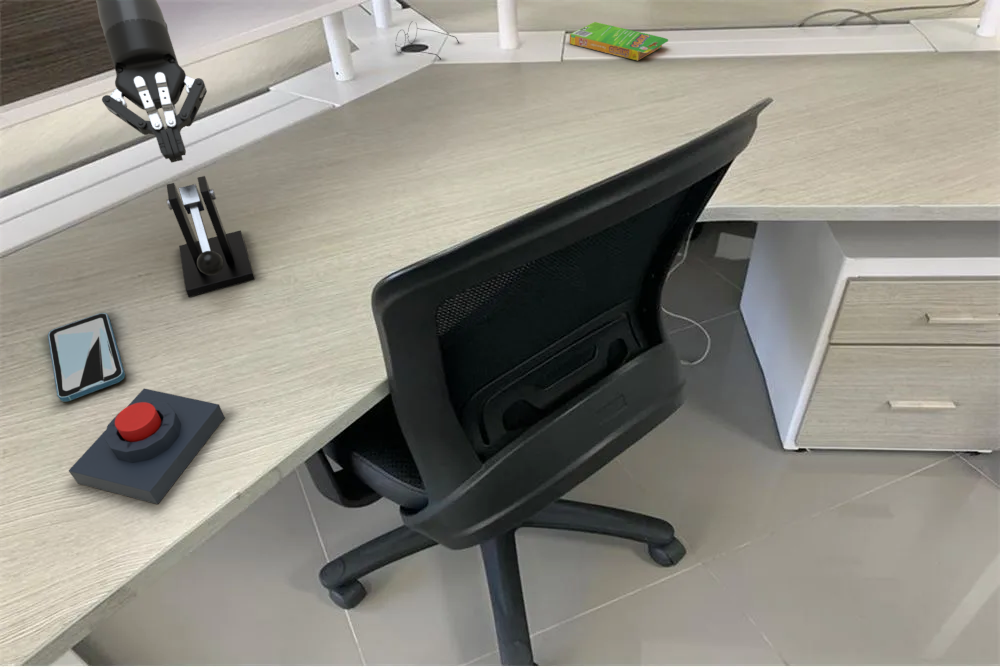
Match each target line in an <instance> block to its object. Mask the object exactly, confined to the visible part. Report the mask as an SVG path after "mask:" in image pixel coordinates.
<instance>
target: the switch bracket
mask: <svg viewBox="0 0 1000 667" xmlns="http://www.w3.org/2000/svg"><path fill="white" fill-rule="evenodd" d="M197 182H198V187H199V193H200V196H201V199H202V202H203V204H204V207H205V209H206V211H207V214H208V217H209V219H210V222H211V225H212V227H213V230H214V233H215V235H216V236H212V237H208V240H209V244H210V247H211V251H214V252H217V253H218V254H219V255H220V256H221V257H222V259H223V268H222V270H221V271H220V272H219V273H218V274H215V275H206V274H204V273H202V272H201V271H200V270H199V269H198V266H197V259H198V257H199V255H200V254H201V253H202V250H201V247H200V243H199V240H198V238H197V235H196V234H195V232H194V229H193V227H192V225H191V224H192V223H191V221H190V219H189V217H188V213H187V211H186V209H185V207H184V205H183V202H182V199H181V195H180V193H179V192H178V191H179V190H178V188H177V186H176V184H175V182H171V183H167V184H166V191H167V199H166V203H167V206H168V209H169V210H170V211H173V214H174V217H175V219H176V221H177V225H178V227H179V229H180V231H181V233H182V236H183V238H184V241H185V243H183V244H180V245H178V248H179V255H180V256H179V257H180V261H181V268H182V274H183V275H182V276H183V282H184V289H185V293H186V295H187V297H188V298H192V297H195V296H199V295H202V294H203V295H204V294H207V293H209V292H214V291H218V290H222V289H225V288H228V287H229V288H230V287H232V286H237V285H240V284H244V283H247V282H251V281H254V280H255V279H256V278H255V274H254V272H253V269H252V264H251V261H250V257H249V256H250V255H249V253H248V249H247V246H246V243H245V239H244V236H243V232H242V230H236V231H232V232H229V233H226V229H225V228H224V225H223V222H222V219H221V217H220V214H219V210H218V208H217V205H216V203H215V200H216V199H217V196H216V193H215V191H214V189H213V188H210V186H209V183H208V181H207V178H206V176H205V175H202V176H198V177H197Z"/></svg>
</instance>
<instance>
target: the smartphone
mask: <svg viewBox="0 0 1000 667" xmlns="http://www.w3.org/2000/svg"><path fill="white" fill-rule="evenodd" d="M47 339H48V346H49V353H50V359H51V365H52V370H53V376H54V384H55V390H56V396H57V397H58V400H60V401H61V402H64V403H65V402H67V403H68V402H71V401H73V400H76V399H78V398H81V397H83V396H87V395H89V394H92V393H94V392H97V391H99V390H102V389H105V388H108V387H111V386H113V385H115V384H118V383H120V382H122V381H123V380H124V379H125V378H126V372H125V369H124V365H123V361H122V358H121V354H120V351H119V348H118V343H117V340H116V336H115V332H114V329H113V326H112V322H111V319H110V316H109V315H108V313H106V312H99V313H95V314H93V315H90V316H88V317H84V318H82V319H79V320H75V321H73V322H70V323H67V324H64V325H60V326H58V327H55V328H53V329H51V330H50V331H49V332H48V334H47Z"/></svg>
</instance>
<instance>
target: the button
mask: <svg viewBox="0 0 1000 667" xmlns="http://www.w3.org/2000/svg"><path fill="white" fill-rule="evenodd" d="M127 406H128V405H127ZM127 406H125V407H124V408H123V409H122V410H121V411H120V413H119V412H118V413H119V414H118V413H117V414H118V415H117V414H116V416H117V417H116V416H115V417H116V419H115V426H116V428H117V430H118V431H119V433H120V434H121V436H122V438H123V439H124V440H126V441H129V442H136V441H141V440H144V439H146V438H148V437H150V436H151V435H153V434H155V433H156V432H157V430H158V429H159V428H160V426H161V418H160V416H159V415H158V413H157V411H156V409H155V407H154V406H153V405H152V404H150V403H146V402H140V403H135V404H132V405H130V406H128V407H127Z"/></svg>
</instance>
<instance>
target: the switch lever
mask: <svg viewBox="0 0 1000 667" xmlns="http://www.w3.org/2000/svg"><path fill="white" fill-rule="evenodd" d="M178 191H179V192H178V193H179V196H180V199H181V201H182V204H183V206H184V209H185V211H186V214H187V215H191V219H192V222H193V226H194V229H195V232H196V237H197V241H199V243H200V247H201V250H202V253H201V254H200V255H199V257H198V259H197V266H198V269H199V270H200V271H201V272H202V273H204V274H206V275H215V274H218V273H219V272H220V271H221V270H222V268H223V259H222V257H221V256H220V255H219V254H218V253H217V252H214V251H211V247H210V244H209V240H208V238H209V237H208V234H207V230H206V227H205V224H204V223H205V222H204V219H203V216H202V212H203V211H205V205H204V202H203V199H202V195H201V193H200V190H199V189H198V186H197V184H196V183H194V184H189V185H185V186H180V187H178Z"/></svg>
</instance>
